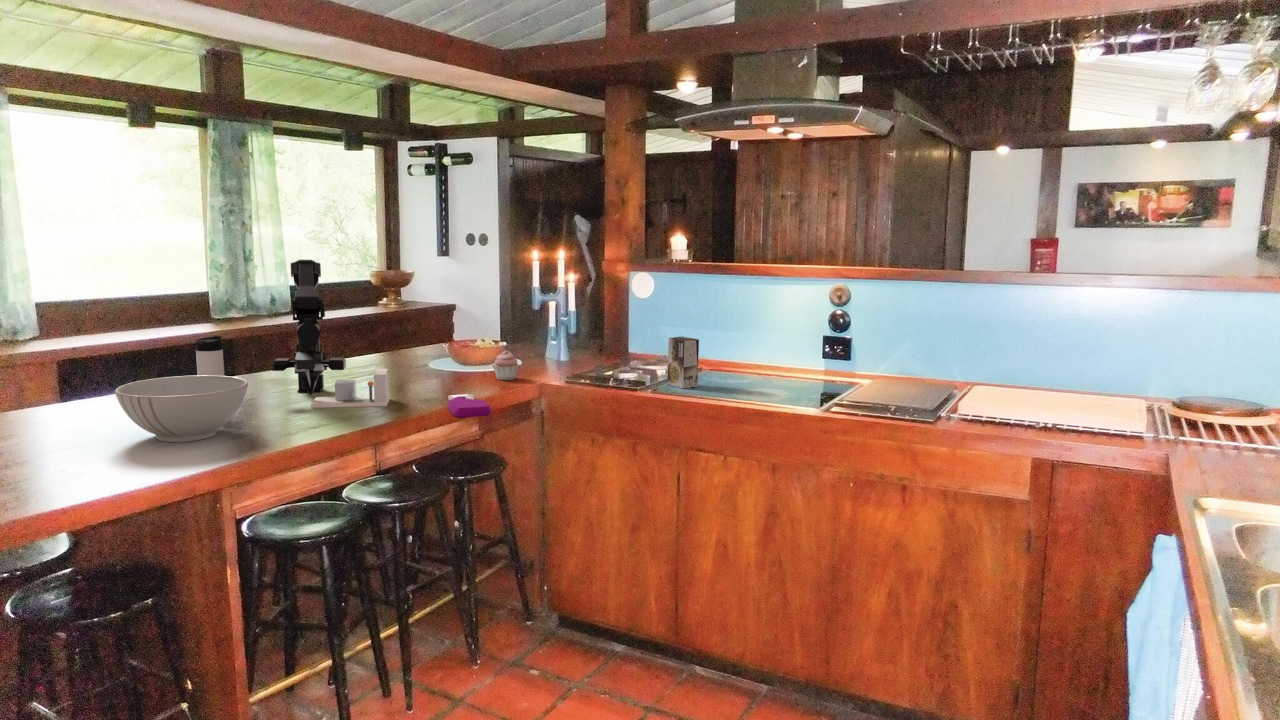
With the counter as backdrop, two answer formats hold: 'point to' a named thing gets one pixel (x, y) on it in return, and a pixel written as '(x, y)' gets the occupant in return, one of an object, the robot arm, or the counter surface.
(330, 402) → the base
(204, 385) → the decorative bowl
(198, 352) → the travel mug
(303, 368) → the robot arm
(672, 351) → the coffee box
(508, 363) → the cupcake
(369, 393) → the drag needle
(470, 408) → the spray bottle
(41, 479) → the counter surface
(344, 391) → the block
